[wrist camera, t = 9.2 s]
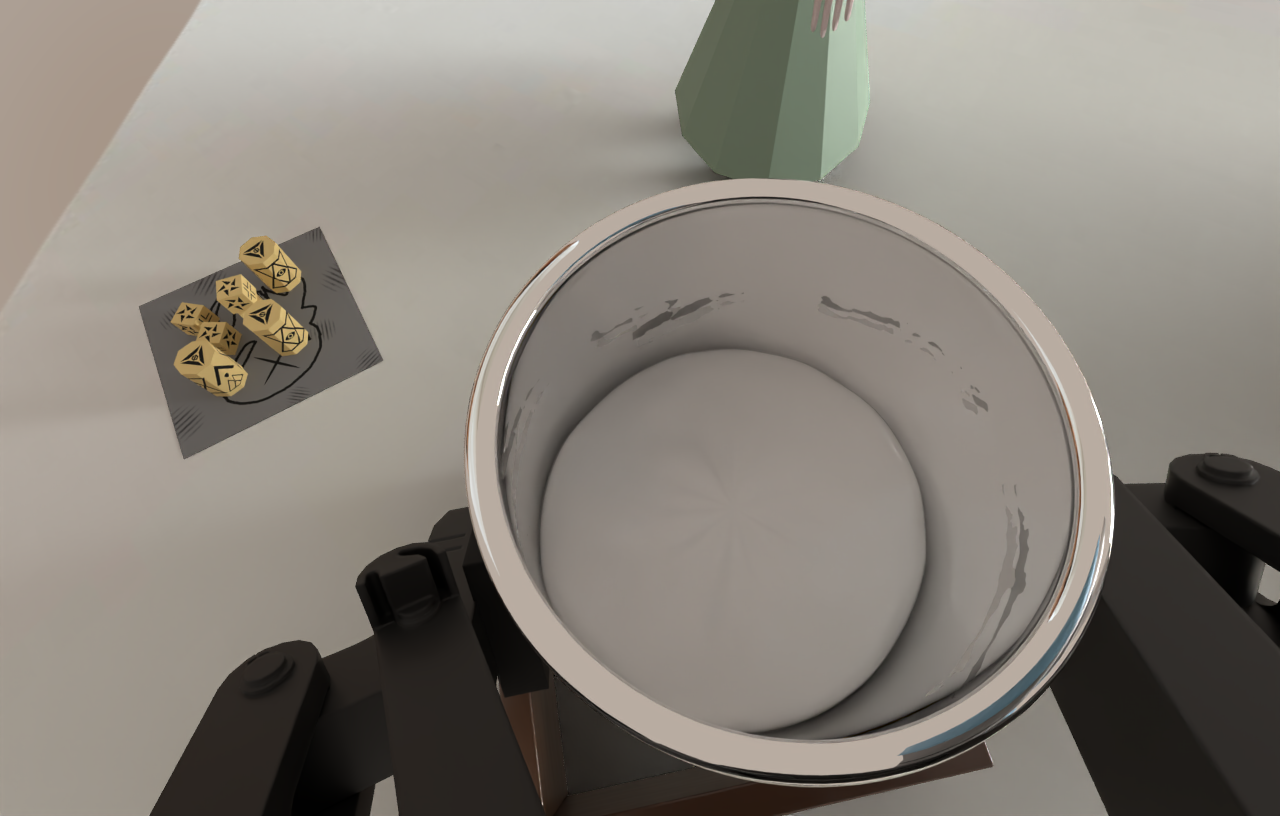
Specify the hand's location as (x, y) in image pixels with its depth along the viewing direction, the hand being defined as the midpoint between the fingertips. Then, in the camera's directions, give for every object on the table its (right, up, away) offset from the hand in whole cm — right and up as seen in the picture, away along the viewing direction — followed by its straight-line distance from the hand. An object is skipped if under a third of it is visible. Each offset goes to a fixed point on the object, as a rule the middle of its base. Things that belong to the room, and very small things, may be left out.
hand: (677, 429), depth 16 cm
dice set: (-17, +4, +9) cm, 19 cm away
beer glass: (+1, -6, +4) cm, 7 cm away
